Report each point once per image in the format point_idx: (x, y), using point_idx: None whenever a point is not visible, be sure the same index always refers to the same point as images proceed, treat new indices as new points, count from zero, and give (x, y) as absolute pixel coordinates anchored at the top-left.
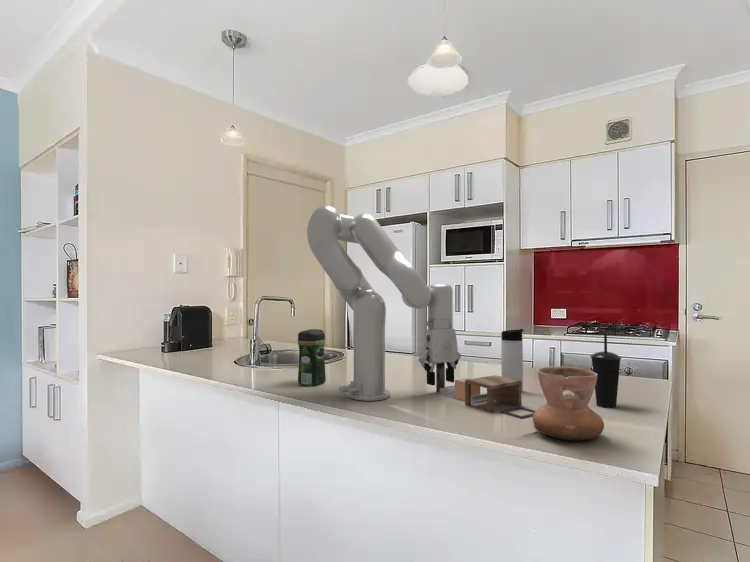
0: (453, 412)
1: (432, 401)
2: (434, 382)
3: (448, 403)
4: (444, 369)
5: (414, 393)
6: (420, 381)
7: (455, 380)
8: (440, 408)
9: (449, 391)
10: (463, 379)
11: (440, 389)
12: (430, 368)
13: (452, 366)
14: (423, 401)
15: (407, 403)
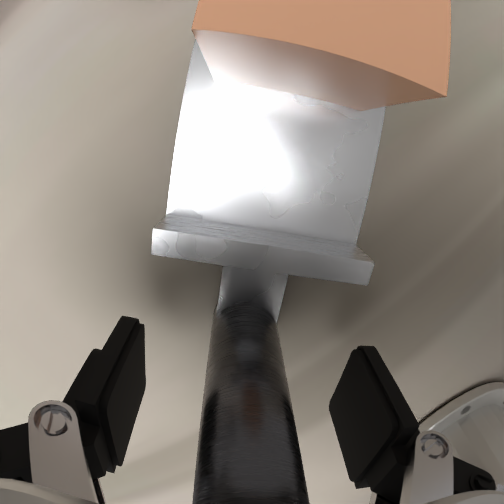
0: (491, 34)
1: (417, 241)
2: (370, 357)
3: (396, 134)
4: (229, 452)
5: (319, 413)
6: (120, 484)
7: (444, 84)
8: (491, 116)
9: (275, 234)
10: (345, 9)
11: (367, 269)
12: (451, 459)
13: (81, 441)
14: (441, 275)
15: (496, 296)
